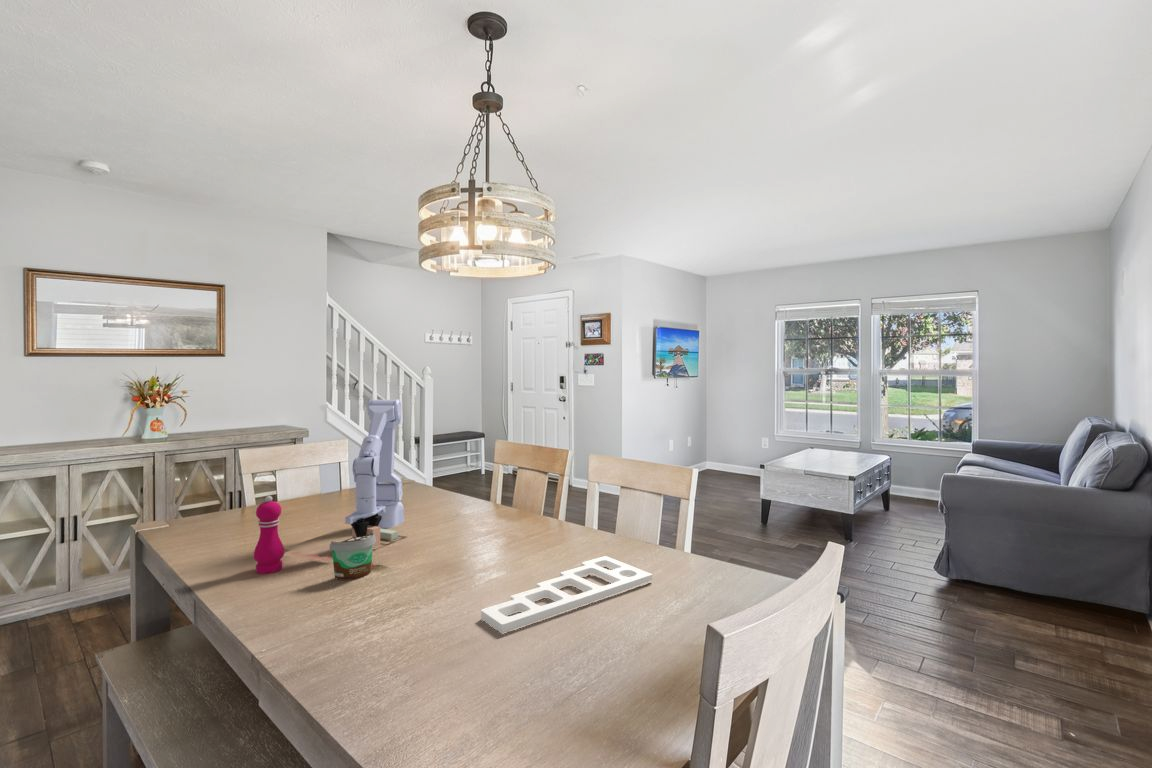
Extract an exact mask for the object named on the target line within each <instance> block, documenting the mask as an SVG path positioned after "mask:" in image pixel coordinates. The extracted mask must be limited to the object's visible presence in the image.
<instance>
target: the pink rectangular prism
mask: <svg viewBox="0 0 1152 768" xmlns="http://www.w3.org/2000/svg"><path fill="white" fill-rule="evenodd" d="M370 531H372V532H373V533H374V535H375V538H376V543H375V544H373V549H376V548H378V547H381V544H380V543H381V541H380V539H381V538H380V527H378V526H371V525H368V527H367V532H366V535H369V534H370ZM353 537H357V536H356V533H355V531H354V529H353V527H352V526H351V538H353Z"/></svg>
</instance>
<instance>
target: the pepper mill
mask: <svg viewBox="0 0 1152 768" xmlns="http://www.w3.org/2000/svg"><path fill="white" fill-rule="evenodd" d="M264 500H265V501H264V502H262V503H260V504H258V506H257V508H256V510H255V515H256V517H257V519H259V520H258V524H257V525H258V527H259V530H260V531H259V537H258V541H257V544H256V546H255V548H254V551H253V559H254V560H255V561H256V562H257V563H256V564H255V572H256V573H257V574H262V575H263V574H272V573H276V571H277V572H279V571H280V570H282V569H283V561H282V560H281V559H282V558H283V557H284V555H285V547H284V544H283V542H282V540H281V538H280V535H279V531H278V530H279V529H278V528H279V527H278V526H279V525H280V518H279V517H280V515H281V514H282V507H281V506H282V505H280V504H279V503H278V502H276V501H273V496H271V495H267V496H266V497H265V498H264Z"/></svg>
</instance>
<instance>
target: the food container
mask: <svg viewBox="0 0 1152 768" xmlns="http://www.w3.org/2000/svg"><path fill="white" fill-rule="evenodd" d="M375 543H376V538H375V535H374V533H373V532H372V531H370V534H369V535H366V536H362V537H353V538H352V537H350V538H348V539H345V540H343V541H340V542H339V541H334V540H331V541H330V544H329V550H331V554H332V562H333V563H332V564H333V572H334V579H336V578H337V579H336V580H340V579H342V580H341V581H351V580H350V579H352V580H357V579H362V578H364V576H365V577H367V576H369V575H370V574H371V572H372V564H373V563H372V561H373V552H374V551H373V549H374V548H373V544H375ZM369 573H370V574H369ZM361 577H362V578H361Z"/></svg>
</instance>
